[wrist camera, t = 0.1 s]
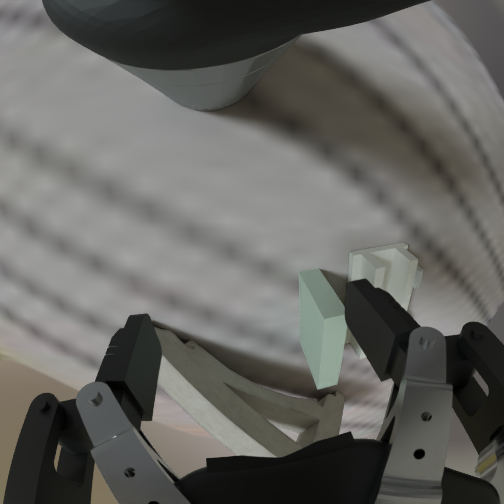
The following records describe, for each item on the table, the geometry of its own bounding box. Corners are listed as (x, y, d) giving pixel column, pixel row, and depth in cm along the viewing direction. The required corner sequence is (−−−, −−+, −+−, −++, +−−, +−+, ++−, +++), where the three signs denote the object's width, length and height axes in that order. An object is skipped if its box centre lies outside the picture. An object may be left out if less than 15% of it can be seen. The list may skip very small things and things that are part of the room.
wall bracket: (223, 290, 49) (345, 396, 42) (211, 306, 51) (328, 409, 43) (137, 325, 29) (326, 488, 22) (125, 346, 30) (300, 498, 23)
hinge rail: (349, 251, 30) (369, 273, 26) (403, 242, 31) (427, 259, 26) (341, 339, 36) (354, 363, 32) (387, 326, 37) (403, 347, 32)
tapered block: (298, 271, 30) (324, 319, 23) (325, 267, 31) (356, 311, 23) (299, 341, 35) (317, 389, 28) (321, 336, 35) (343, 382, 28)
